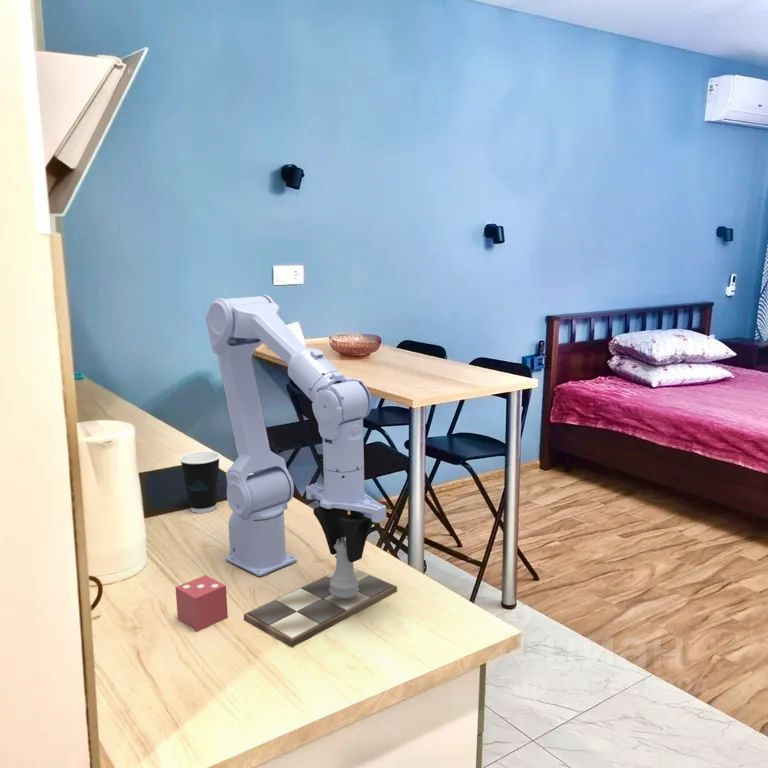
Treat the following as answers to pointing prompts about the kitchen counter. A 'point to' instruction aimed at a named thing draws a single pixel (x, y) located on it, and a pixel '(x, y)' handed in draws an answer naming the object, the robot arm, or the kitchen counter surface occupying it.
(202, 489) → the dixie cup
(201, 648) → the kitchen counter surface
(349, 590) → the rook chess piece
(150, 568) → the kitchen counter surface
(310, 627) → the game board
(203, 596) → the die
